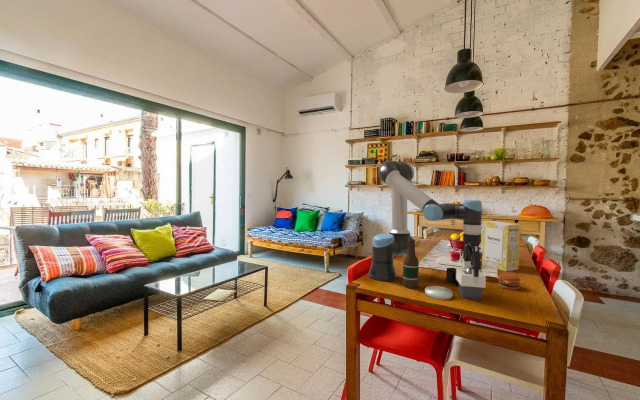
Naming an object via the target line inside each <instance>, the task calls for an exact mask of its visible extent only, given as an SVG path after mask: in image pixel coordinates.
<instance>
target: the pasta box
mask: <svg viewBox="0 0 640 400" xmlns="http://www.w3.org/2000/svg"><path fill="white" fill-rule="evenodd" d="M481 223H482V224H481V227H483V228H482V229H481V233H480V234H481V242H480V252H482V253H483V254H482V265H483V264H484V266H487V267H490V266H491V267H490V268H493V267H494V268H493V269H498V270H500V271H504V272H511V271H512V272H513V271H518V270H519V259H520V241H521V240H520V239H521V224H520V223H512V222H506V221H505V222H504V221H497V220H486V221H485V220H481Z"/></svg>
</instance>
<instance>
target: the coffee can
mask: <svg viewBox="0 0 640 400" xmlns="http://www.w3.org/2000/svg"><path fill="white" fill-rule="evenodd" d="M463 254H464V249H463V250H462V251H461V255H462V256H461V269H464V259H463ZM479 254H480V262H481V269H480V270H479V271H480V272H481V273H482V274H483V272H482V269H483V264H482V254H483V253H482V252H481V251H479ZM470 262H471V266H470V267H471V268H472V267H473V265H472V260H471V261H470Z"/></svg>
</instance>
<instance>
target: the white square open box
mask: <svg viewBox="0 0 640 400" xmlns="http://www.w3.org/2000/svg"><path fill="white" fill-rule="evenodd" d="M455 269H456V280H457V281H458V282H459V284H460V285H461V286H469V287H482V289H483V288H484V289H486V286H487V285H486V283H487V282H486V281H487V277H486V275H485V274H484V273H483V272H482V273H481V272H480V271H479V284H472V274H466V269H462V268H455Z"/></svg>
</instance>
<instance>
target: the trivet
mask: <svg viewBox="0 0 640 400" xmlns="http://www.w3.org/2000/svg"><path fill="white" fill-rule="evenodd" d="M424 294H425V295H426V296H427V297H428V298H431V299H434V300H441V301H442V300H445V301H446V300H451V299H453V297H454V296H453V295H454V294H453V291H452V290H451V289H449V288H447V287H443V286H439V285H430V286H426V287H425V288H424Z"/></svg>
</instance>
